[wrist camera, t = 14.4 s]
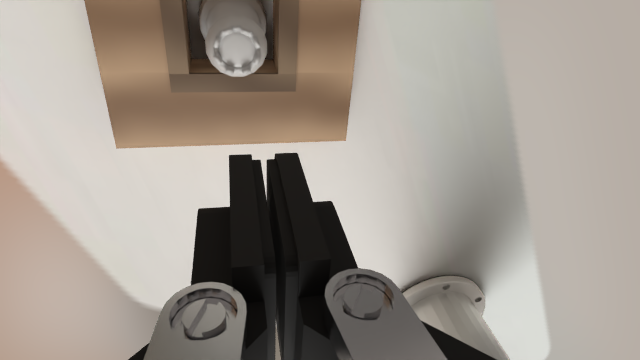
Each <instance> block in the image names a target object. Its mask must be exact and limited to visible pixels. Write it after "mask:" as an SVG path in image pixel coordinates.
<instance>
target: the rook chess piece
mask: <svg viewBox="0 0 640 360" xmlns="http://www.w3.org/2000/svg"><path fill="white" fill-rule="evenodd" d="M198 16H199V27H200V31H201V33H202V35H203V37H204V39H205V45H206V54H207V56H208V58H209V60H210V62H211V64H212V65H213V66H214V67H216V68H217V69H218V70H219V71H220V72H221V73H224V74H227V75H229V76H232V77H244V76H247V75H249V74H251V73H254V72H255V71H256V70H257V69H258V68H259V67H260V66H261V65H262V64H263V62H264V60H265V57H266V55H267V40H266V38H265V34H266V13H265V11H264V8H263V5H262V3H261V1H260V0H202V3H201V6H200V9H199V12H198Z"/></svg>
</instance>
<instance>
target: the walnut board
mask: <svg viewBox="0 0 640 360" xmlns="http://www.w3.org/2000/svg"><path fill="white" fill-rule="evenodd" d="M84 1H85V6H86V10H87V15H88V19H89V24H90V29H91V33H92V38H93V42H94V47H95V52H96V56H97V61H98V65H99V70H100V75H101V79H102V84H103V89H104V93H105V98H106V102H107V107H108V112H109V116H110V121H111V125H112V130H113V135H114V139H115V144H116V148H144V147H173V146H203V145H232V144H261V143H291V142H320V141H346V134H347V125H348V116H349V107H350V98H351V89H352V80H353V71H354V62H355V53H356V43H357V34H358V25H359V16H360V7H361V0H273V59H265V60H264V62H263V64H262V65H261V66H260V67H259V68H258V69H257V70H256V71H255V72H254V73H251V74H249V75H247V76H244V77H232V76H229V75H227V74H224V73H221V72H220V71H219V70H218V69H217V68H216V67H214V66H213V65H212V64H211V62H210V60H209V59H192V56H191V46H190V35H189V25H188V15H187V4H186V0H84Z"/></svg>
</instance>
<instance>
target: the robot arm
mask: <svg viewBox="0 0 640 360" xmlns="http://www.w3.org/2000/svg"><path fill="white" fill-rule="evenodd" d="M229 176H230V207H220V208H202V209H198V215H197V226H196V237H195V248H194V258H193V269H192V280H191V286H188V287H186V288H184V289H182V290H180V291H179V292H177V293H175V294H174V295H173V296H172V297H171V298H170V299H169V300H168V301H167V302H166V304H165V305H164V307H163V309H162V311H161V313H160V315H159V318H158V321H157V324H156V326H155V329H154V332H153V335H152V337H151V340H150V343H149V344H147V345H146V346H145V347H143V348H142V349H141V350H140V351H139V352H137V353H136V354H135V355H134V356H132V357H131V358H130V359H129V360H275V327H276V324H277V332H278V339H279V346H280V355H281V360H510V359H509V357H508V356H507V354H506V353H505V351H504V350H503V348H502V347H501V345H500V343H499V342H498V340H497V339H496V337H495V336H494V334H493V333H492V331H491V330H490V328H489V327H488V325H487V324H486V322H485V321H484V319H483V318H482V315H483V313H484V309H485V298H484V294H483V293H482V291H481V290H480V288H479V287H478V286H477V285H476V284H475V283H474V282H473V281H471V280H469V279H467V278H464V277H460V276H441V277H436V278H432V279H429V280H426V281H423V282H421V283H419V284H417V285H415V286H413V287H411V288H409V289H408V290H406V291H405V292H403V293H401V291H400V290H399V288H398V287H397V286H396V285H395V284H394V283H393V282H392V280H390V279H389V278H387V277H386V276H384V275H383V274H381V273H378V272H375V271H372V270H368V269H361V268H358V267H357V264H356V261H355V259H354V256H353V254H352V251H351V249H350V246H349V243H348V241H347V238H346V236H345V233H344V230H343V228H342V225H341V223H340V220H339V218H338V215H337V212H336V210H335V207H334V205H333V203H332V202H331V201H323V202H313V201H312V198H311V194H310V191H309V188H308V185H307V182H306V179H305V175H304V172H303V169H302V166H301V163H300V160H299V157H298V154H297V153H279V154H275V159H269V160H267V200H266V194H265V187H264V180H263V174H262V167H261V161H260V160H252V156H251V154H249V155H229Z"/></svg>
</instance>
